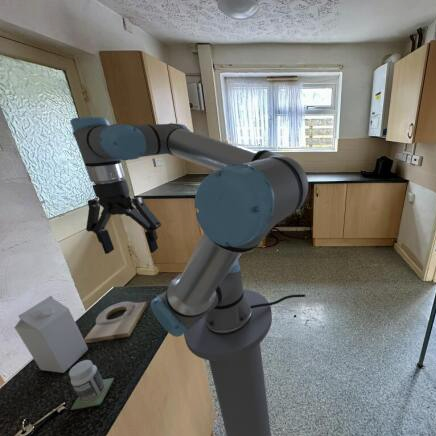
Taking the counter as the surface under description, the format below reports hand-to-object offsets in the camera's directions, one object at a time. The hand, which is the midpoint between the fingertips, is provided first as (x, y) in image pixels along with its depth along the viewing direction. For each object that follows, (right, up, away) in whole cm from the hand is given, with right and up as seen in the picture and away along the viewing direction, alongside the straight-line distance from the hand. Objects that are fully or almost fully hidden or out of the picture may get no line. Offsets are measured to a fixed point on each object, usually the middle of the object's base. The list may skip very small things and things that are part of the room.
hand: (132, 251), depth 70 cm
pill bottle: (0, -32, -14) cm, 35 cm away
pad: (0, -32, -14) cm, 35 cm away
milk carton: (-15, -29, -5) cm, 33 cm away
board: (-10, -24, +7) cm, 27 cm away
